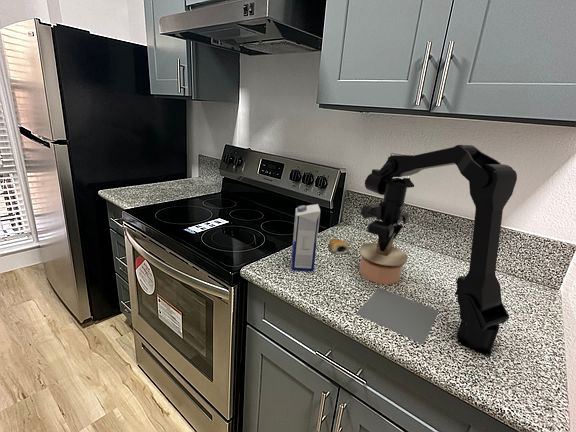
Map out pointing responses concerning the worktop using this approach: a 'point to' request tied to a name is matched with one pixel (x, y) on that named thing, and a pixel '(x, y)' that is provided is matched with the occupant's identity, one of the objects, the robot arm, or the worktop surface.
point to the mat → (399, 314)
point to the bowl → (380, 272)
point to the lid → (383, 254)
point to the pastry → (338, 246)
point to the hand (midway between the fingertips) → (384, 249)
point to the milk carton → (305, 237)
